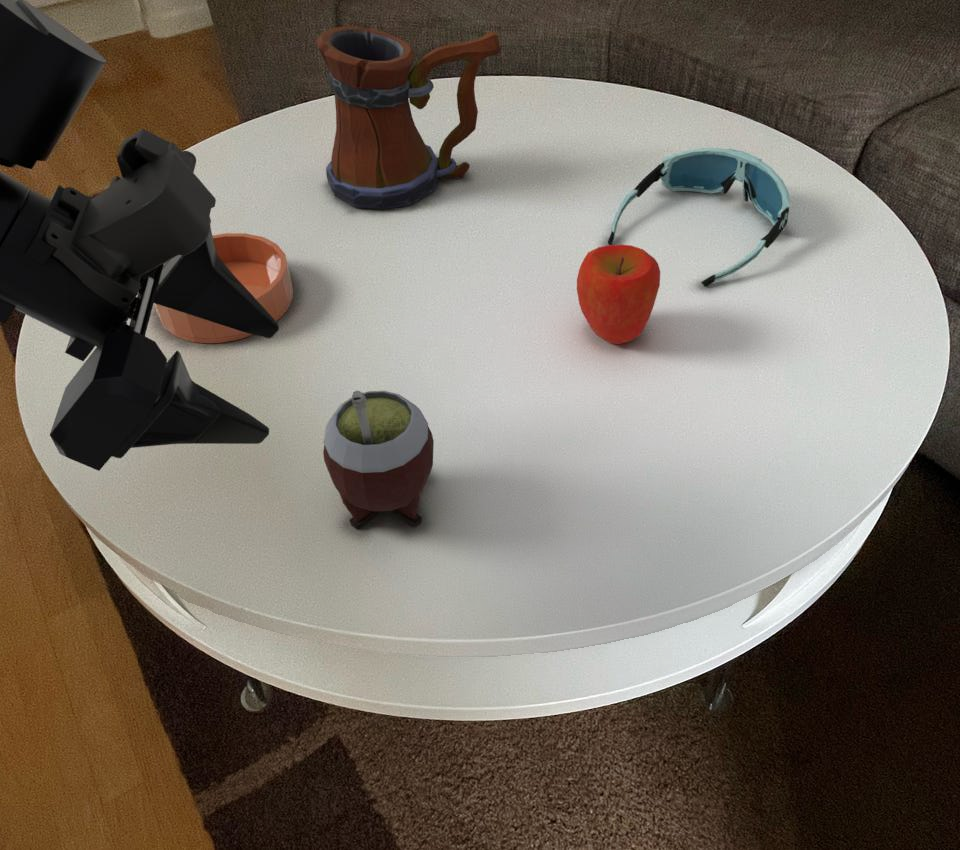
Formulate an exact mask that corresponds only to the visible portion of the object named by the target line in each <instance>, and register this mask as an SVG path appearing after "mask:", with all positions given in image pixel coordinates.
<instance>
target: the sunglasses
mask: <svg viewBox="0 0 960 850" xmlns="http://www.w3.org/2000/svg"><path fill="white" fill-rule="evenodd" d="M661 161H662V162H661V163H660V164H658V165H657V166H656V167H655V168H654V169H653V170H652V171H650V172H649V173H648V174H646V176H644V178H642V180H641V181H640V182H639V183H638V184H637V185H636V186H635V187H634V188H633V189H632V190H631V191H630V192H628V193H627V194H625V196H624V198H623V200H622V202H621V203H620V205H619V207H618V209H617V211H616V212H615V215H614V218H613V221H612V224H611V232H610V235H609V237H608V240H607V244H608V246H609V245H613V242H614V240H615V235H616V231H617V227H618V223H619V221H620V219H621V217H622V215H623V213H624V211H625V210H626V208H627V207H628V205H629V204H630V203H632V202H633V201H635V199H636V198H640V197H641V196H642V195H643V194H644V193H645V192H646V191H647V190H648V189H649V188H650V187H651V186H652V185H653V184H654V183H656V182H658V181H660V180H661V185H662V186H663V187H664V188H666V189H667V190H668V191H681V192H682V191H683V192H695V193H704V194H715V193H716V194H717V193H721V192H722V194H723V195H725V194H728V192H729V191H730V189H731V188H732V186H733V184H734V183H735V182H736V181H737V182H740V183H742V195H743V201H744V202H745V203H748V202H749V201H750V202H751V203H752V205H753V206H754V207H755V209H756V210H757V211H758V212H759V213H760V214H761V215H763V217H765V218H766V219H767V220H769V222H770V223H771V224H772V227H771V229H770V230H769V231H768V233H767V234H766V235H764V236H763V237H762V238H760V240H759V242H758V244H757V246H756V248H754V249H753V250H752V251H750V252H749V253H748V254H747V255H746V256H744V257H743V258H742V259H741V260H739V261H738V262H737V263H735V264H733V265H731V266H730V267H728V268H726V269H724V270H722V271H719V272H717V273H715V274H713V275H710V276H709V277H707V278H706V279H704V280H702V281H700V283H701V284H702V285H703V286H704V287H708V286H710V285H711V284H713V283H715V282H717V281H719V280H721V279H724V278H726V277H728V276H730V275H732V274H734V273H736V272H738V271H739V270H741V269H743V268H744V267H746V266H747V265H748V264H750V263H751V262H752V261H754V260H755V259H756V258H758V256H759V255H760V253H761V252H762V251H763V249H764V248H766V249H768V248H769V247H770V246H771V245H772V244H773V243H774V242H775V241H776V240H777V238H778V237H779V235H780V234H781V233H782V232H785V230H786V227H787V226H788V223H789V214H790V208H791V204H792V203H791V196H790V192H789V190H788V188H787V186H786V184H785V182H784V180H783V179H782V178H781V177H780V175H778V174H777V172H776V171H775V170H774V169H773V168H772V166H770V165H768V164H767V163H766V162H764V161H763V160H762V158H760V157H757V156H755V155H753V154H750V153H748V152H745V151H743V150H738V149H733V148H721V147H710V148H709V147H707V148H695V149H690V150H685V151H681V152H677V153H673V154H671V155H669V156H667V157H665V158H662V159H661Z"/></svg>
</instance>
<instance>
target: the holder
mask: <svg viewBox="0 0 960 850" xmlns="http://www.w3.org/2000/svg"><path fill="white" fill-rule="evenodd" d="M212 237H213V241H214V246H215V250H216V253H217V255H218V256H219V258H220V259H221V260H222V261H223V263H224V264H225V265H226V266H227V268H228V269H229V270H230V271H231V272H232V273H233V275H234V276H235V277H236V278H237V279H238V280H239V281H240V282H241V284H242V285H243V286H244V287H245V288H246V289H247V290H248V291H249V292H250V293H251V294H252V295H253V296H254V297H255V299H256V300H257V301H258V302H259V303H260V304H261V305H262V306H263V307H264V308H265V309H266V310H267V312H268V313H269V314H270V315H271V316H272V317H273V318H274V319H275V320H276V321H277V322H278V321H279V319H281V318H282V317H283V315H285V313H286V312H287V311H288V310H289V308H290V306H291V304H292V301H293V296H294V289H293V288H294V287H293V284H292V278H291V273H290V269H289V265H288V260H287V255H286V253H285V252H284V251H283V250H282V248H281V247H280V246H279V245H278V244H277V243H276V242H274V241H272V240H270V239H268V238H266V237H264V236H259V235H255V234H250V233H243V232H242V233H240V232H239V233H237V232H233V233H232V232H229V233H228V232H226V233H218V234H214V235H213V234H212ZM153 308H154V309H155V312H156V316H158V318H159V321H160V323H161V325H162V326H163V328H164V329H165V330H166V331H167V332H168V333H170V334H171V335H173V336H174V337H176V338H179V339H181V340H184V341H186V342H192V343H197V344H219V343H220V344H222V343H229V342H233V341H238V340H242V339H245V338H248V337H251V336H254V335H253V334H249V333H245V332H242V331H239V330H235V329H232V328H229V327H226V326H223V325H220V324H217V323H214V322H211V321H208V320H205V319H202V318H199V317H195V316H192V315H189V314H186V313H183V312H180V311H177V310H173V309H170V308H167V307H164V306H161V305H158V304H155V303H153Z"/></svg>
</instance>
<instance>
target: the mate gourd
mask: <svg viewBox="0 0 960 850" xmlns="http://www.w3.org/2000/svg"><path fill="white" fill-rule="evenodd" d="M434 443H435V442H434V436H433V433H432V430H431V428H430V427H429V422H428V420H427V419H426V417H425V415H424V414H423V412H422V409H420V407H418V406H417V405H416V404H414V403H413V402H411V400H409V399H407V398H406V397H404V396H403V395H401V394H400V393H397V392H392V391H388V390H369V391H364V392H361V390H355V391H353V392H352V396H351V397H350V398H348V399H347V400H345V401H344V402H342V403H340V405H338V407H337V409H335V411H334V413H333V415H332V416H330V418H329V420H328V422H327V423H326V425H325V431H324V437H323V452H322V453H323V461H324V463H325V466H326V469H327V471H328V474H329V477H330V479H331V481H332V484H333V486H334V487H335V489H336V490H337V492H338V493H339V496H340V499H341V501H342V504H343V505H344V507H345V508H346V510H347V512H348V513H349V514H350V515H351V516H352V517H351V518H350V519H349V523H350V526H351V527H352V528H354V529H355V530H359V529H361V528H363V527H364V526H365V525H367V524H368V523H370V522H371V521H372V520H373V519H375V518H376V517H377V516H379V515H380V514H381V513H383V512H392V513H393V514H394V515H397V516H398V518H400V519H402V520H403V521H404V522H405V523H406V524H408V525H409V526H411V527H412V528H417V527H418V526H419V525H420V524H422V522H423V517H422V516H421V515H420V514H419V513H418V509H419V504H420V498H421V497H420V496H421V493H422V491H423V489H424V487H425V485H426V483H427V481H428V479H429V478H430V475H431V473H432V469H433V466H434V445H435V444H434Z"/></svg>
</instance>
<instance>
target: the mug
mask: <svg viewBox="0 0 960 850" xmlns="http://www.w3.org/2000/svg"><path fill="white" fill-rule="evenodd" d="M315 42H316V45H317V46H316V47H317V48H318V51H319V52H320V54H321V56H322V58H323V60H324V62H325V64H326V66H327V68H328V70H327V75H326V79H327V82H328V84H329V86H330V88H331V90H332V91H333V93H334V103H335V121H336V122H335V126H336V127H335V134H334V141H333V147H332V152H331V159H330V161H329V163H328V164H327V166H326V167H325V174H326V179H327V182H328V184H329V187H330V188H331V191H332V193H333V195H334V197H335V198H337V199H339V200H341V201H342V202H344V203H346V204H349V206H352V207H353V208H356V209H370V210H371V209H373V210H387V209H394V208H398V207H399V208H400V207H405V206H410V205H411V206H412V205H413V204H415V203H416V202H418V201H420V200H421V199H423V198H424V197H425V196H427V195H429V194H431V193H432V192H434V191H435V189H436V186H437V184H438V181H439V179H441V178H443V179H450V180H451V179H460V178H464V177H465V175H466V174H467V172H468V171H469V169H470V166H471V165H470V163H469V162H467V161H463V162H461V163H460V164H457V162H456V160H455V158H453V157H452V152H453V149H455V147H456V146H458V145H460V144H461V143H462V142H463V141H464V140H466V139H467V138H468V137H469V136H470V135H471V134H472V133H473V132H474V131H475V130H476V127H477V121H478V113H479V109H478V105H477V100H476V94H475V81H476V78H477V74H478V71H479V69H480V66H481V63H482V61H483V60H484V59H486V58H488V57H494V56H496V55H499V54H500V53H501V50H502V48H501V45H500V40H499V36H498V33H497V31H494V30H492V31H490V32H488V33H486V34H484V35H483V36H481V37H478V38H474V39H471V40H467V41H463V42H454V43H449V44H444V45H441V46H438V47H436V48H435V49H433V50H431V51H428V52H427V53H426V54H424V55H423V56H422V57H420V58H419V60H418V61H417V62H416V63H415V64H414V61H415V59H416V54H415V52H414V48H413V47H412V46H410V44H409V43H408V42H406V41H404V40H402V39H400V38H399V37H396V36H394V35H393V34H390V33H387V32H384V31H381V30H378V29H375V28H367V27H363V26H356V25H355V26H353V25H344V26H338V27H332V28H330V29H328V30H326V31H324V32H323V33H322V34H321V35H319V37H317V38H316V39H315ZM457 61H465V64H464V65H465V66H464V67H463V70H462V72H461V74H460V78H459V80H458V84H457V90H456V103H457V105H456V106H457V111H458V118H459V123H458V124H457V125H456V126H455V127H454V128H453V129H452V130H451V131H450V132H449V133H448V134H447V136H446V137H445V138H444V140H443V142H442V144H441V146H440V148H439V151H438V157H437V155H436V153H435V152H434V150H433V148H432V147H431V145H428V144H426V143H425V141H424V139H423V137H422V135H421V133H420V132H419V130H418V128H417V126H416V123H415V121H414V119H413V114H412V111H411V109H412V108H411V106H410V105H412V106H413V107H415V108H416V109H418V110H424V108H425V107H426V106H427V105H428V103H429V101H430V98H431V93H432V91H433V89H434V83H433V81H432V80H431V78H430V77H429V75H430V73H431V71H432V70H433V69H434V68H437V67H439V66H441V65H444V64H448V63H453V62H457ZM413 65H414V66H413ZM412 66H413V67H412Z"/></svg>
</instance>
